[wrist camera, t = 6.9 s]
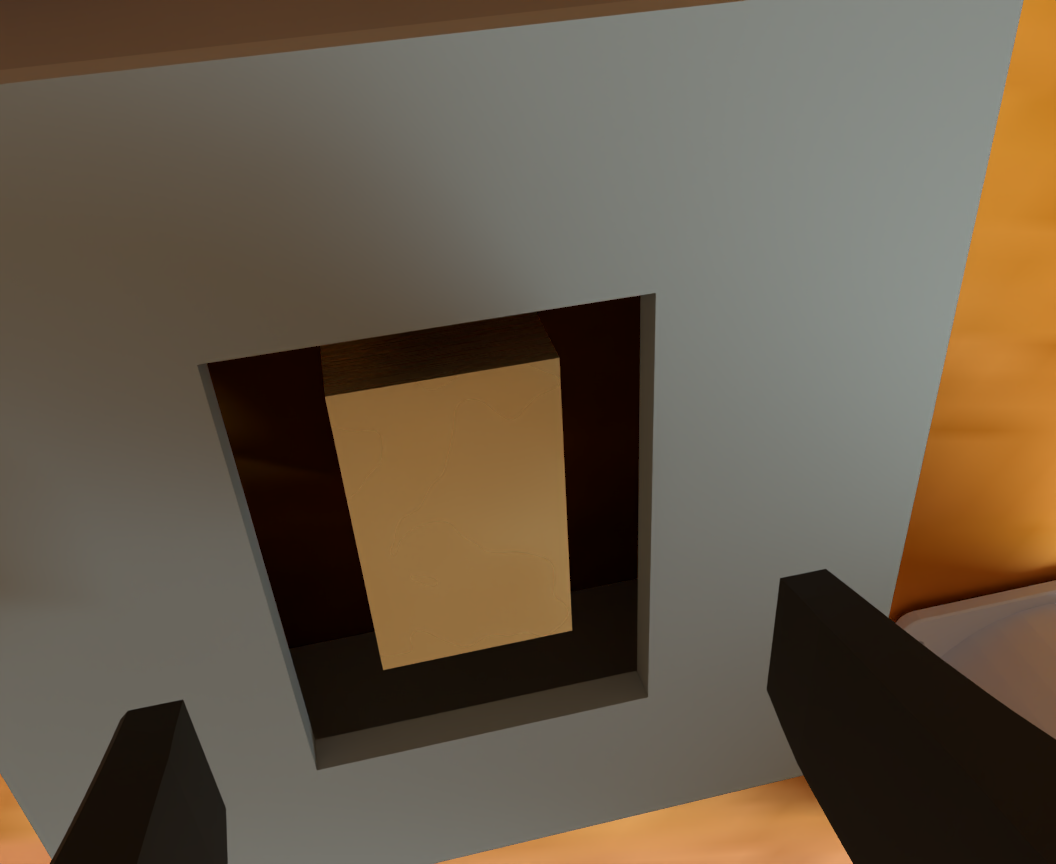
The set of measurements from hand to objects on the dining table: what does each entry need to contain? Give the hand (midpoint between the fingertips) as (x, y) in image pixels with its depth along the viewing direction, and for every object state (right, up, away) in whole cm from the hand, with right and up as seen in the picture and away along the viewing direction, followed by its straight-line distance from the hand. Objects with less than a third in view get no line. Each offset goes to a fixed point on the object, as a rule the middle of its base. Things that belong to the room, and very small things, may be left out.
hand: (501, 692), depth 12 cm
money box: (-2, +4, +6) cm, 8 cm away
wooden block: (-2, +5, +6) cm, 8 cm away
